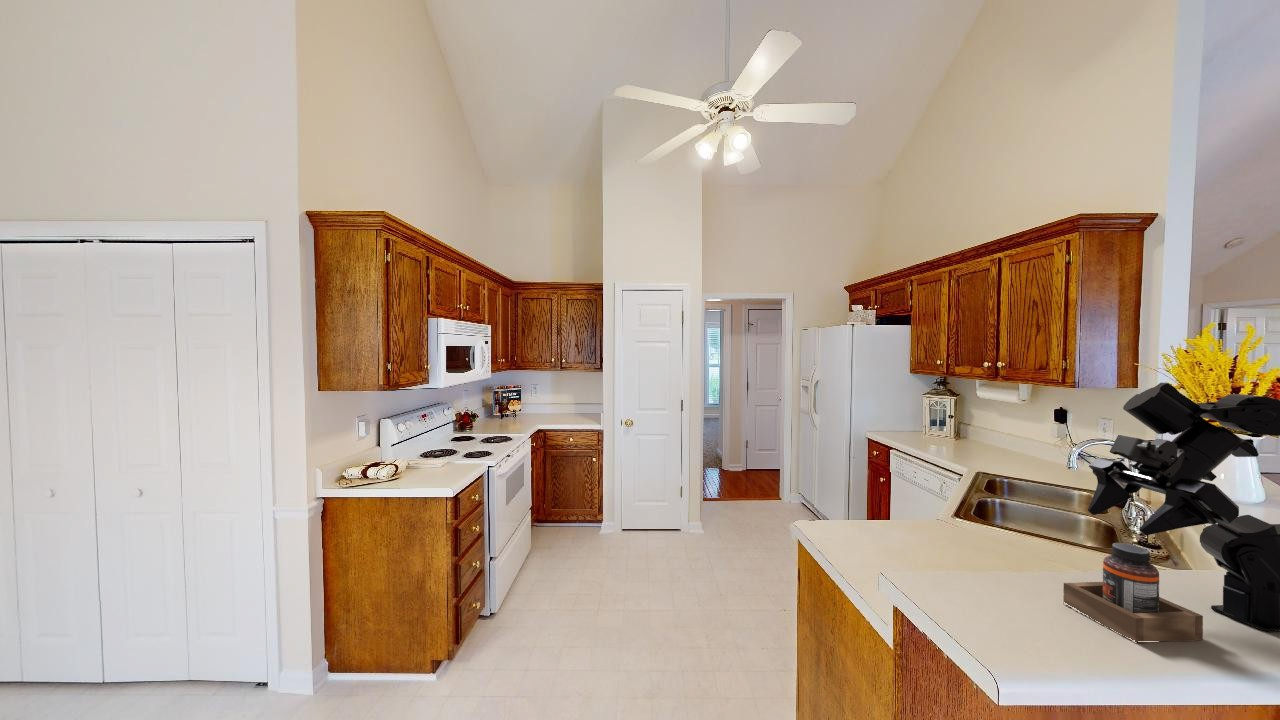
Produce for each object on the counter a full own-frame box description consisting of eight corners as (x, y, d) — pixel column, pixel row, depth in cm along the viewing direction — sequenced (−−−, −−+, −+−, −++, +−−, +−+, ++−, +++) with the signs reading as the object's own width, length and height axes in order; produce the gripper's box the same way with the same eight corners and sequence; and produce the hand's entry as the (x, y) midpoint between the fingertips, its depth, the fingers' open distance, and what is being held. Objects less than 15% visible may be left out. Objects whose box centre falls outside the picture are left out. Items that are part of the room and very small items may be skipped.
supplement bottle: (1094, 607, 76) (1095, 537, 75) (1143, 615, 73) (1144, 543, 73) (1114, 627, 70) (1115, 551, 70) (1168, 636, 68) (1169, 558, 68)
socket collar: (1122, 602, 77) (1122, 581, 77) (1202, 640, 67) (1202, 615, 67) (1063, 604, 76) (1063, 583, 76) (1135, 643, 66) (1135, 618, 66)
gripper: (1100, 412, 85) (1034, 472, 86) (1217, 428, 66) (1130, 503, 67) (1148, 457, 84) (1081, 516, 85) (1280, 485, 65) (1191, 561, 66)
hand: (1114, 522), depth 76 cm, fingers open, 9 cm apart
